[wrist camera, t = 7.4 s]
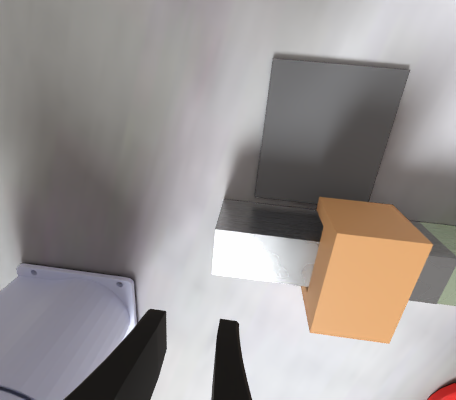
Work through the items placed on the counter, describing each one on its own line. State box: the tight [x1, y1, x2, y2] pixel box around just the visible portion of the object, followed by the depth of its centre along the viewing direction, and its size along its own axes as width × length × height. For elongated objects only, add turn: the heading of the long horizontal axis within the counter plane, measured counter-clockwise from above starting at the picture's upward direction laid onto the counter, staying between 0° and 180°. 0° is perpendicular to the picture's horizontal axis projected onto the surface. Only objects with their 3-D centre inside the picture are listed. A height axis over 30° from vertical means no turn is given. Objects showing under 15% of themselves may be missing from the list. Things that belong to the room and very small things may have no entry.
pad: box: [255, 58, 410, 204], centre depth 16 cm, size 7×8×1 cm
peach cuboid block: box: [301, 197, 433, 344], centre depth 15 cm, size 4×6×4 cm, turn 176°
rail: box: [212, 199, 456, 306], centre depth 16 cm, size 19×6×6 cm, turn 85°
